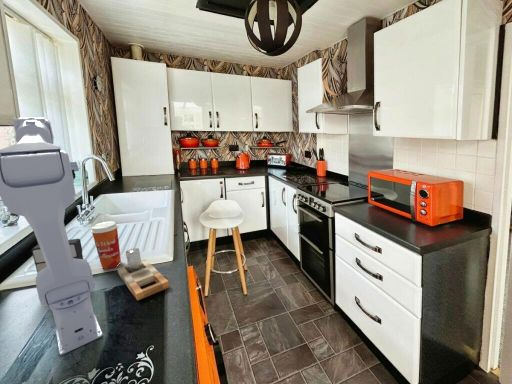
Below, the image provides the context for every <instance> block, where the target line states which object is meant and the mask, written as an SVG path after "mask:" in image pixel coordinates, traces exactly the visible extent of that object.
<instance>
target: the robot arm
mask: <svg viewBox="0 0 512 384" xmlns="http://www.w3.org/2000/svg"><path fill="white" fill-rule="evenodd" d="M51 123H52V122H51V121H50V119H45V117H33V116H31V117H29V116H28V117H18V118H16V117H13V128H14V133H15V135H14V137H15V142H16V143H14V144H11V145H9V146H6V147H3V148H1V149H0V199H1V201H2V204H3V206H4V207H6V209H7V211H8V213H10V214H13V215H18V216H22V217H24V218H25V220H26V222H27V223H28V225H29V227H30V228H31V229H32V231H33V233H34V236H35V238H36V241H37V245H38V244H39V246H40V249H41V251H42V254H43V257H44V259H45V262H46V265H47V267H45V268H44V269H42V270H41V271H40V272H38V273H36V277H35V285H36V292H37V295H38V299H39V303H40V305H41V306H43V307H48V306H49V310H50V311H51V312H52V315H53V320H54V324H55V327H56V330H55V333H56V334H55V335H56V341H57V346H58V353H59V355H60V356H62V355H65V354H67V353H68V352H69V353H70V352H71V351H73V350H75V349H77V348H80V347H82V346H84V345H86V344H88V343H91V342H92V341H95V340H97V339H99V338H101V337H102V336H103V331H102V329H101V327H100V324H99V322H98V320H97V316H96V315H95V313H94V307H93V303H92V298H91V292H93V291H94V289H95V288H96V285H95V281H94V276H93V271H92V268H91V265H90V262H89V261H88V260H87V259H84V258H83V259H75V258H73V257H72V253H71V249H70V245H69V241H68V240H69V237H68V234H67V230H66V226H65V223H64V222H65V221H64V220H65V214H66V210H67V208H68V207H70V206H71V205H72V204H73V203H76V198H75V197H76V190H75V184H74V183H75V179H76V173H75V172H79V171H80V168H79V165H78V162H77V161H70V156H69V153H67V152H66V151H65V150H62V148H61V146H60V145H57V144H54V140H55V139H54V138H55V137H54V133H53V128H52V124H51Z"/></svg>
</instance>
